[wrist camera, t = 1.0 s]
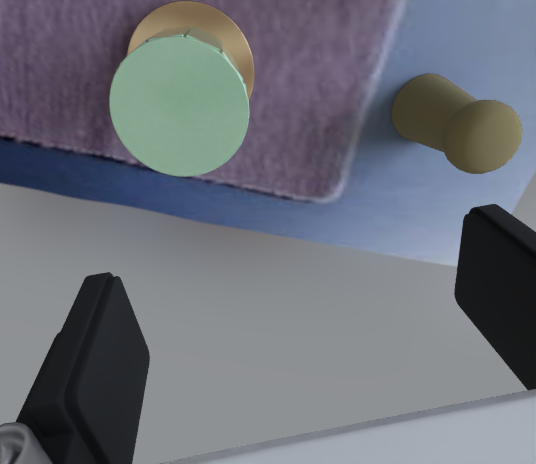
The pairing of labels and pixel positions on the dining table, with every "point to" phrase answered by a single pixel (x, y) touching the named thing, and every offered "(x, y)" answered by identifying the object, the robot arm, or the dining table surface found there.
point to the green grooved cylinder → (180, 102)
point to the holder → (204, 20)
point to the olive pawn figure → (457, 123)
